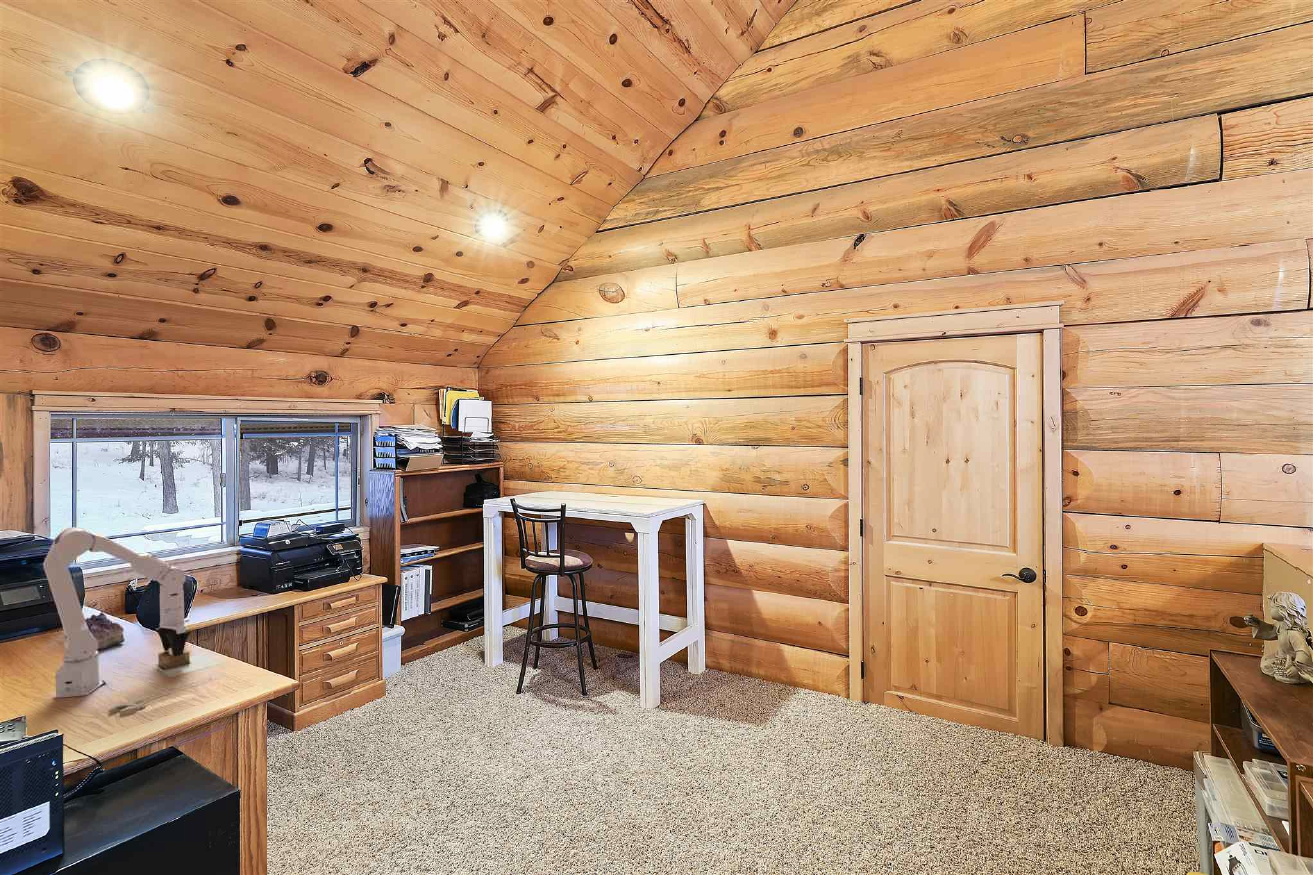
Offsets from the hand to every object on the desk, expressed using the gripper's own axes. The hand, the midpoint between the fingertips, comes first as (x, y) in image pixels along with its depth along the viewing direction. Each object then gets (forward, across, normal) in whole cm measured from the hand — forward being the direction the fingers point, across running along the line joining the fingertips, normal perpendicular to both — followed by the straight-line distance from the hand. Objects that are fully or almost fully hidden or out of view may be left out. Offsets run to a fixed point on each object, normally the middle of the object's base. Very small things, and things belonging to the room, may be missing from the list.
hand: (173, 652), depth 194 cm
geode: (+5, +45, +8) cm, 46 cm away
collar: (+3, 0, 0) cm, 3 cm away
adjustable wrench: (+5, -24, +8) cm, 26 cm away
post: (+4, 0, 0) cm, 4 cm away
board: (+4, -4, -2) cm, 6 cm away
